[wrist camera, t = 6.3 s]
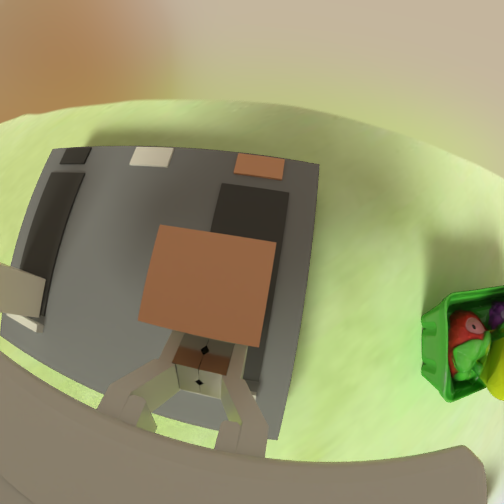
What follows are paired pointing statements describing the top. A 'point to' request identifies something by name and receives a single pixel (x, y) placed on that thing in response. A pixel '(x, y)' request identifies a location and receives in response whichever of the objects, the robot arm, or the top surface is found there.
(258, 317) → the switch
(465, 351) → the fruit basket
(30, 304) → the switch
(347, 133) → the top surface
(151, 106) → the top surface
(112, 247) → the console
